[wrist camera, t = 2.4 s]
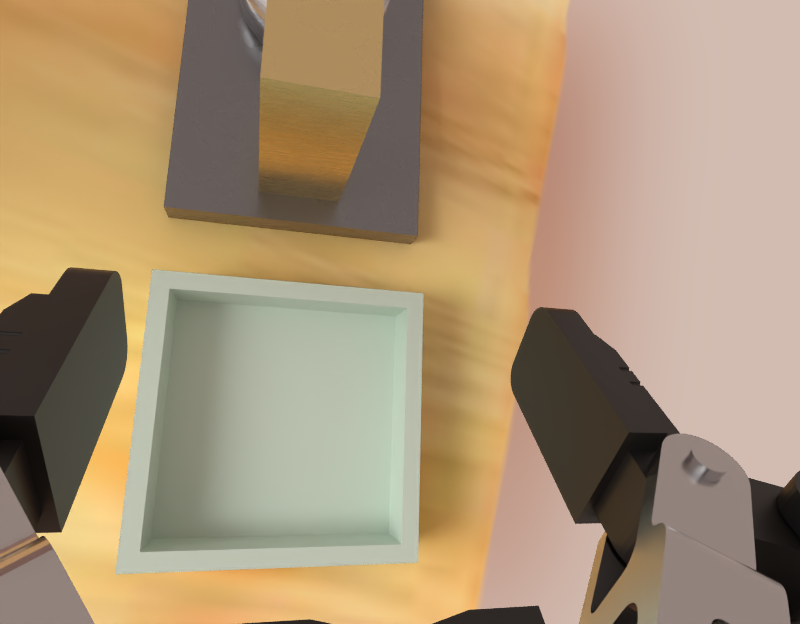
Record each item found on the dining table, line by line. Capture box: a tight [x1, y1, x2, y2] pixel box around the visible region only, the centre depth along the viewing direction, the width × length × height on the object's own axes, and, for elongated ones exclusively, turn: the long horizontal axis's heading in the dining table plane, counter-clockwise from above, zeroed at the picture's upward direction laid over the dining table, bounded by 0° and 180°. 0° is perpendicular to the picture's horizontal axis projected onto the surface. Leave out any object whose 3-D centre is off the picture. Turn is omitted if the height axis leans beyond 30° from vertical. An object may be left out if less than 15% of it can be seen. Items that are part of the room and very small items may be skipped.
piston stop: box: [258, 0, 384, 202], centre depth 24 cm, size 4×4×10 cm
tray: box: [115, 269, 424, 574], centre depth 26 cm, size 13×13×4 cm
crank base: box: [164, 0, 423, 244], centre depth 27 cm, size 13×18×10 cm
